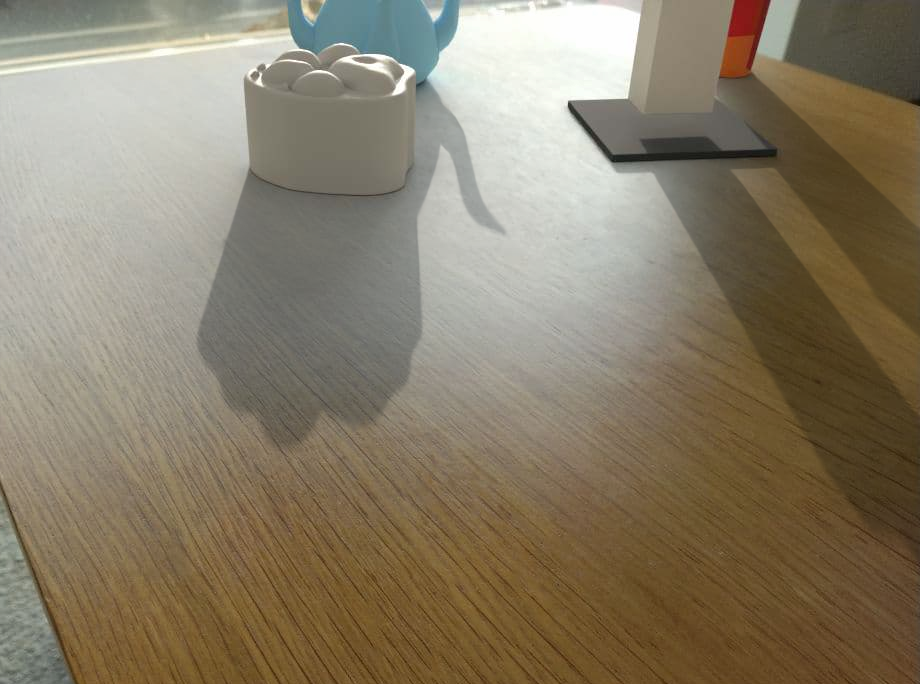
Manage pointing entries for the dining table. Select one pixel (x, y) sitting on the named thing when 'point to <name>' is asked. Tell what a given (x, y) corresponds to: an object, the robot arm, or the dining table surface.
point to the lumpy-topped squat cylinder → (331, 121)
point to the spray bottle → (679, 55)
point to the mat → (667, 132)
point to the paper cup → (743, 37)
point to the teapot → (378, 29)
